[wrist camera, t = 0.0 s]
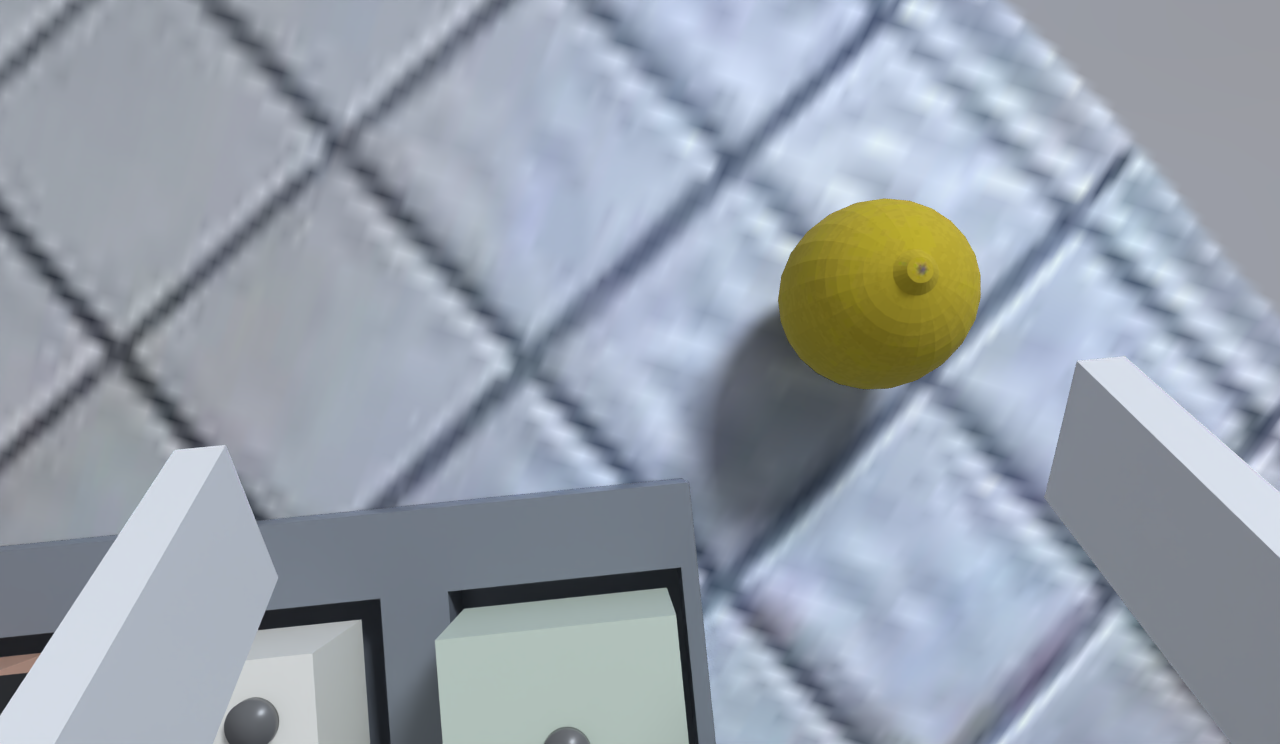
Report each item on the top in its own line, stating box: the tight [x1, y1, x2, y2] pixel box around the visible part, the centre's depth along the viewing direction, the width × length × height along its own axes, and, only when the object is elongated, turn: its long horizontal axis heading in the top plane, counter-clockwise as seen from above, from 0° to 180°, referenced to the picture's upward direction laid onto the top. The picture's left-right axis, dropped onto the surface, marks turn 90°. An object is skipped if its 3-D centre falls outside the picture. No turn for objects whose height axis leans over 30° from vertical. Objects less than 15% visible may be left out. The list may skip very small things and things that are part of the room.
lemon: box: [778, 199, 981, 389], centre depth 25 cm, size 6×6×8 cm
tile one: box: [435, 588, 689, 744], centre depth 23 cm, size 6×6×4 cm
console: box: [0, 478, 716, 744], centre depth 26 cm, size 12×26×3 cm, turn 96°
